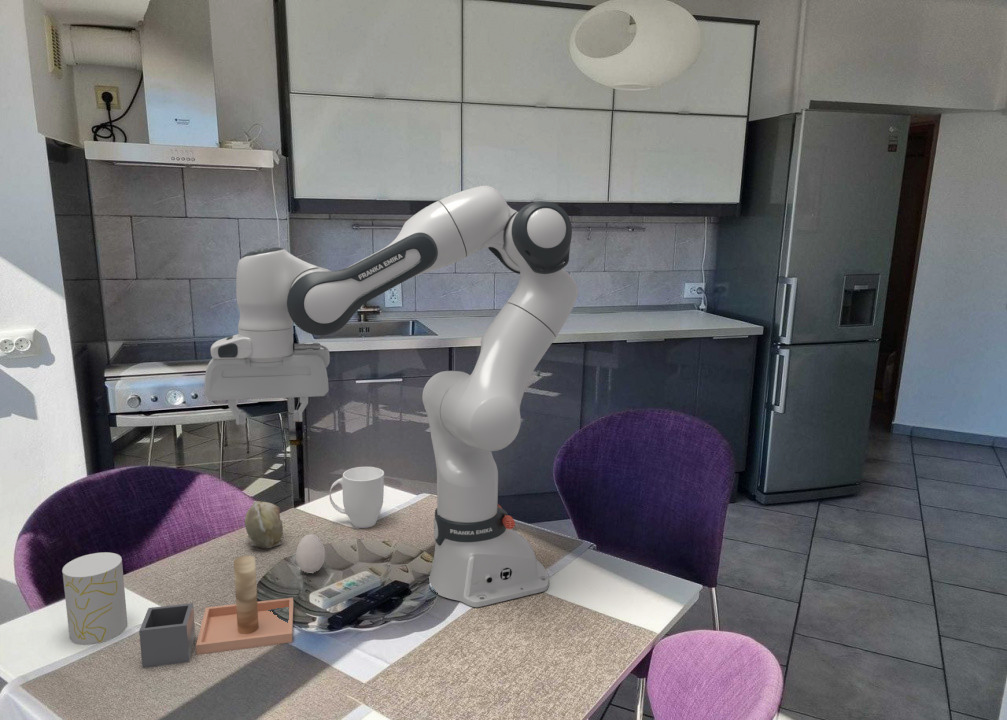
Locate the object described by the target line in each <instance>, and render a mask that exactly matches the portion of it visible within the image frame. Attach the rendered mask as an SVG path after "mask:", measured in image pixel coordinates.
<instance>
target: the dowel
mask: <svg viewBox="0 0 1007 720" xmlns="http://www.w3.org/2000/svg"><path fill="white" fill-rule="evenodd" d="M256 570H257V568H256V558H255V556H253V555H246V554H245V555H241V556H238V557H236V558H235V559H234V560H233V571H234V586H235V587H234V590H235V604H236V610H237V627H238V632H239V633H241V634H250V633H253V632H255V631H256V630H257V629H258V627H259V626H258V606H257V602H258V586H257V572H256Z"/></svg>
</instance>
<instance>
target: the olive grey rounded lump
mask: <svg viewBox="0 0 1007 720" xmlns="http://www.w3.org/2000/svg"><path fill="white" fill-rule="evenodd" d="M280 511H281V510H280V507H279V506H277V505H276V504H274V503H271V502H268V501H267V502H266V501H260V500H254V501H253V502H252V505H251V506H250V507H249V508H248V510H247V512H246V514H245V517H244V518H245V519H244V526H245V530H246V533H247V538H248V541H249V544H250V545H251V546H252V547H257V548H262V549H271V548H274V547H277V546H280V545H283V543H282V542H281V540H282V538H283V536H284V534H283V532H284V531H283V530H284V526H283V521H282V520H281V515H280V513H281V512H280Z"/></svg>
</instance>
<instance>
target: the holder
mask: <svg viewBox="0 0 1007 720" xmlns="http://www.w3.org/2000/svg"><path fill="white" fill-rule="evenodd" d="M195 627H196V626H195V611H194V602H189V603H181V604H172V605H162V606H154V607H148V609H146V613H145V616H144V618H143V621H142V623H141V625H140V628H139V630H138V631H139V633H138V634H139V643H140V656H141V657H140V658H141V666H142V669H147V668H151V667H152V668H153V667H154V668H155V667H159V666H160V667H161V666H167V665H175V664H176V665H177V664H182V663H190V660H191V656H192V653H193V650H194V646H195V645H194V644H195V641H196V638H197V637H196V628H195Z"/></svg>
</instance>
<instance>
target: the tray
mask: <svg viewBox="0 0 1007 720" xmlns="http://www.w3.org/2000/svg"><path fill="white" fill-rule="evenodd" d="M257 606H258V626H259V627H258V629H257V630H256V631H255V632H253V633H250V634H241V633H239V632H238V627H237V610H236V603H234V604H233V603H232V604H224V605H218V606H217V605H215V606H207V607H205V609H204V612H203V617H202V620H201V625H200V629H199V632H198V636H197V641H196V645H195V651H196V655H205V654H212V653H217V652H226V651H234V650H243V649H249V648H250V649H252V648H257V647H259V648H260V647H267V646H273V645H282V644H287V643H288V644H289V643H293V634H294V633H293V631H294V627H293V626H294V597H288V598H279V599H269V600H261V601H257ZM284 607H289V620H288V623H287V622H285V621H283V620H281V619H279V618H278V617H277V615H274V614H273V612H272V611H271V612H270V611H268V610H271V609H276V608H284Z"/></svg>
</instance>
